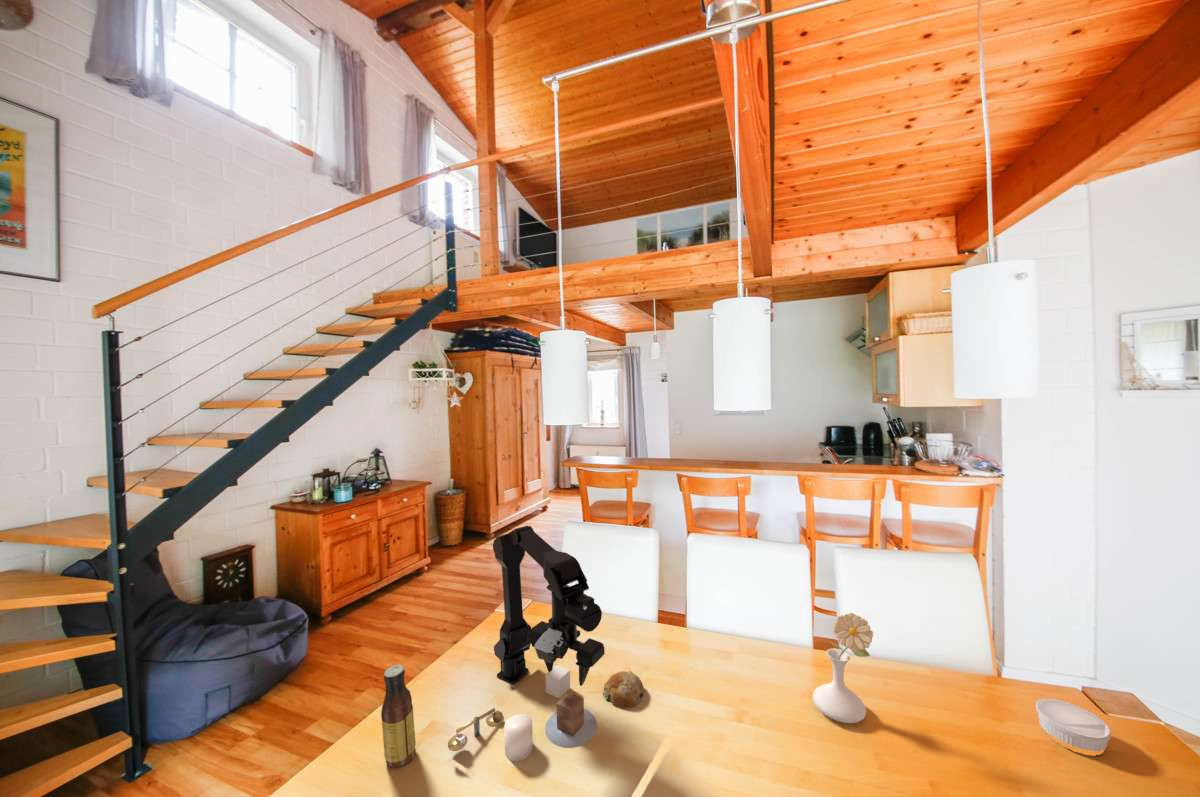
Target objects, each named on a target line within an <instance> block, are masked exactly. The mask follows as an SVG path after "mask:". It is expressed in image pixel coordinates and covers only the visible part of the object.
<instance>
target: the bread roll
mask: <svg viewBox="0 0 1200 797" xmlns="http://www.w3.org/2000/svg"><path fill="white" fill-rule="evenodd" d="M643 684H644V683H643V682H642V680H641V678H640V677H639V676H638V675H637V674H635V673H633V672H632V671H631V670H630V671H626V670H625V671H620V672H619V671H618V672H616V673H614V674H613V675H611V676H610V677H609V679H608V680H607V681H606V682H605V683H604V687H603V693H602V695H603V697H604V699H606V698H607V701H608V702H610V703H611V704H612V706H613V707H616V708H619V709H628V708H633V707H635V706H637V705H639V704H640V702H641V698H643V697H644V693H645V691H644V690H645V688H644V685H643Z"/></svg>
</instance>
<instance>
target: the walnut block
mask: <svg viewBox="0 0 1200 797" xmlns="http://www.w3.org/2000/svg"><path fill="white" fill-rule="evenodd" d="M584 705H585V701H584V698H583V697H581V696H579V695H577V694H575V693H572V692H569V691H567V692H566V693H565V694H564V695H563V696H562V697H561V698H560V699H559V700H558V701H557V702H556V712H557V729H558V730H560V731H562V732H564V733H566V734H568V735H570V736H572V737H573V736H574V735H575V734H576V733H577V732H578V730H579V729H580V728H581V727H582V726H583V724H584V709H585V706H584Z"/></svg>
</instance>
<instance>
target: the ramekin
mask: <svg viewBox="0 0 1200 797" xmlns="http://www.w3.org/2000/svg"><path fill="white" fill-rule="evenodd" d="M1035 710H1036V712H1037V715H1038V721H1039V726H1040V725H1041V726H1040V728H1041V727H1042V728H1043V729H1044V730H1045V731H1046V732H1047V733H1048V734H1050V735H1052V736H1054V737H1055V738H1057V739H1059V740H1060V741H1062V742H1065V743H1067V744H1070V745H1072V746H1075V747H1078V748H1081V749H1086V750H1092V751H1101V750H1104V749H1105V748H1106V749H1107V746H1108V743H1109V741H1110V739H1111V738H1112V734H1111V733H1112V732H1111V729H1110V727H1109V726H1108V724H1107V723H1106V722H1105V721H1104V720H1103V719H1101V718H1100V717H1098V716H1097V715H1095V714H1094V713H1092V712H1090V711H1089V710H1087V709H1085V708H1083V707H1081V706H1078V705H1076V704H1073V703H1071V702H1067V701H1065V700H1060V699H1055V698H1040V699H1038V700H1036V703H1035Z"/></svg>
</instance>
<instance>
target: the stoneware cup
mask: <svg viewBox="0 0 1200 797" xmlns="http://www.w3.org/2000/svg"><path fill="white" fill-rule="evenodd" d="M503 730H504V732H503V733H504V753H505V757H506V758H507V759H508V760H509V761H512V762H521V761H523V760H526V759H527V758H529V757H530V755H531V754H532V752H533V750H534V738H533V737H534V736H533V735H534V734H533V720H532V718H531V716H529V715H528V714H525V713H518V714H514V715H512V716H510V717H509V718H508V719H506V721H505V723H504V729H503Z"/></svg>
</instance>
